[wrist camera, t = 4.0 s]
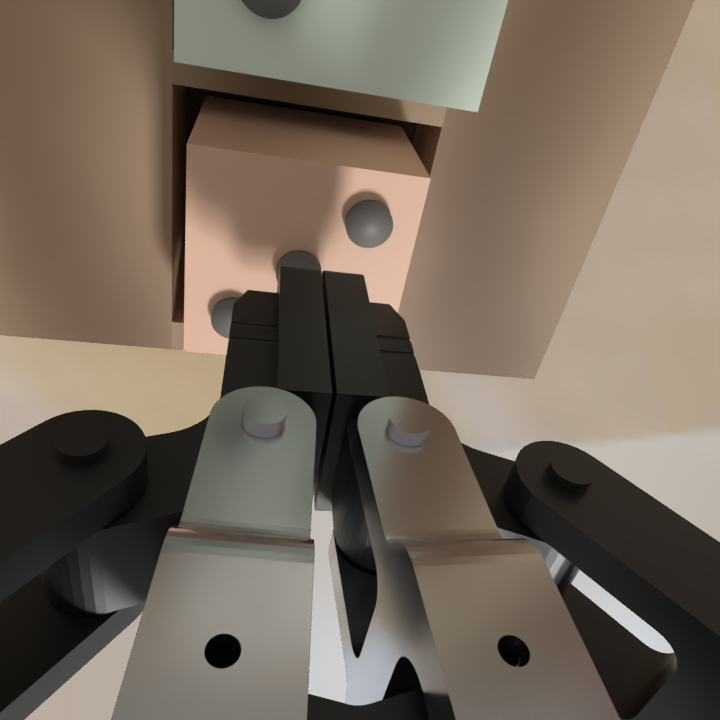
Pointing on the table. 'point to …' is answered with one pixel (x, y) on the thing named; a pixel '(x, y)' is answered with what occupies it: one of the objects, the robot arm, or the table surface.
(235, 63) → the pale green dotted block
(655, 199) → the table surface
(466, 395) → the table surface
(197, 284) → the pink dotted block
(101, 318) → the socket board
